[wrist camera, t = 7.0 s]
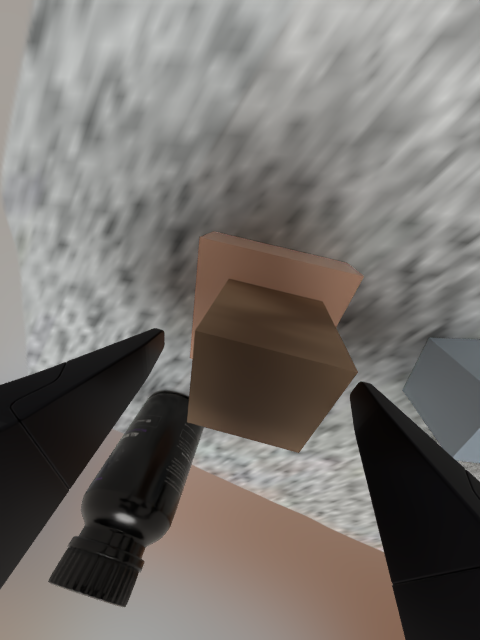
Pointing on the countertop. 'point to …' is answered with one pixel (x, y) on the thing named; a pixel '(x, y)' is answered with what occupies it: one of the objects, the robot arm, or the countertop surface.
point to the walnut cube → (266, 366)
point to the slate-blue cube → (449, 394)
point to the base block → (270, 274)
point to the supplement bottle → (131, 502)
